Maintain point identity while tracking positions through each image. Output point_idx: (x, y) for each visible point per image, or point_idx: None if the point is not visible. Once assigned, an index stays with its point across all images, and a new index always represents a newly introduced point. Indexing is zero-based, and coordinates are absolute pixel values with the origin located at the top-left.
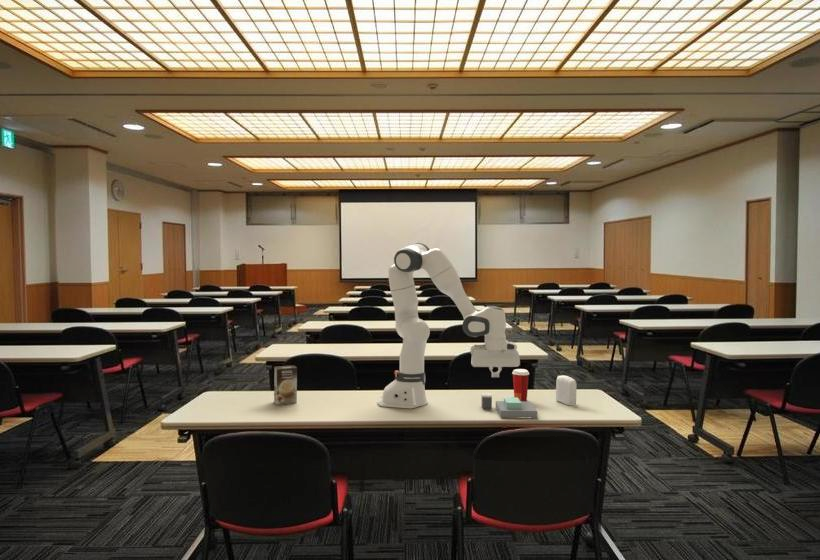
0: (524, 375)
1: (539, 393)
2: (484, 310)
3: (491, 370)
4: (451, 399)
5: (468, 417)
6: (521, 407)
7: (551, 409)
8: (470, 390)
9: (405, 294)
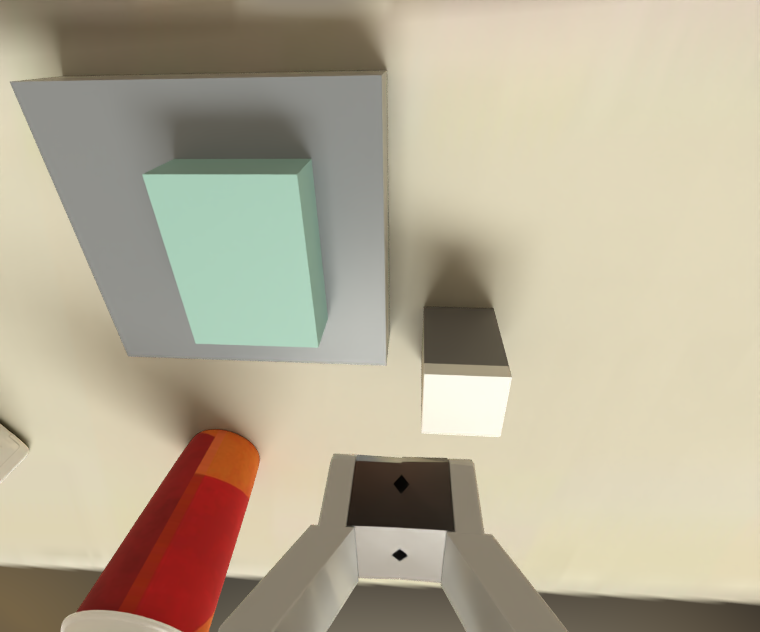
0: (96, 609)
1: None
2: None
3: (519, 610)
4: (644, 478)
5: (704, 65)
6: None
7: (16, 308)
8: None
9: None
